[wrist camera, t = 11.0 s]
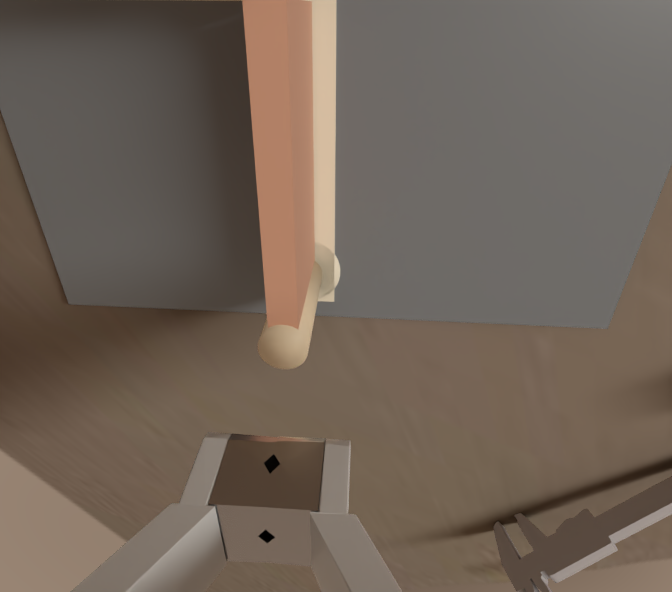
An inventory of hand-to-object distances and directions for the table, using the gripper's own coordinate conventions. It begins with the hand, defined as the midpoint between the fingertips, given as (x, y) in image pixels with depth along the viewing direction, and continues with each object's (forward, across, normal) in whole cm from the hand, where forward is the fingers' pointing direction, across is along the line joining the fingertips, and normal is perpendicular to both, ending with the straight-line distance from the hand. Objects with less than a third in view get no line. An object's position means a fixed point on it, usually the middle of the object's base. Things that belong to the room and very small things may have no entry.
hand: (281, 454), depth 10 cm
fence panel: (+14, +1, -2) cm, 14 cm away
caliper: (+15, -21, +19) cm, 32 cm away
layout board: (+15, 0, -4) cm, 15 cm away
